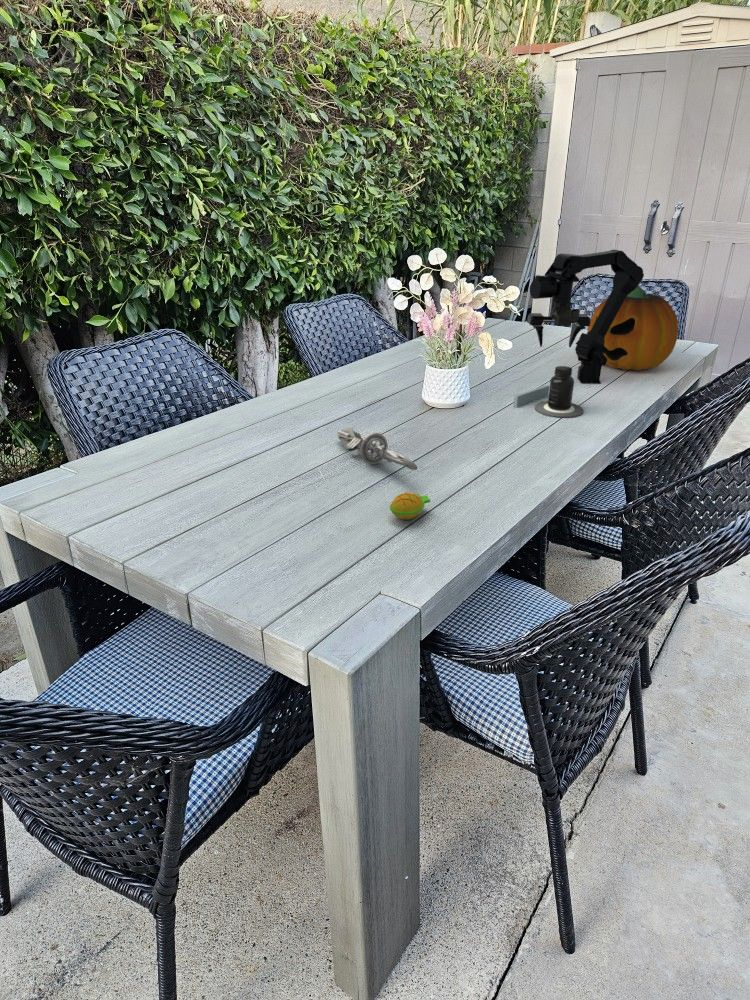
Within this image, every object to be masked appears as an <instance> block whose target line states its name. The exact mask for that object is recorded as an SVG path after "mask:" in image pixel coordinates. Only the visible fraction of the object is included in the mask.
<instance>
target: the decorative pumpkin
mask: <svg viewBox="0 0 750 1000" xmlns="http://www.w3.org/2000/svg"><path fill="white" fill-rule="evenodd" d="M607 299H608V297H607V298H605V300H603V301H602V302H601V303H600V304H599V305H598V306H596V308H595V310H593V311H594V312H593V314H592V316H591V317H590V319H591V322H590V326H587V332H586V334H587V333H588V332H589V331H590V330H591V329H592V327H593V325H594V323H595V322H596V320H597V318H598V316H599V314H600V312H601V310H602V308H603V307H604V305H605V303H606V301H607ZM676 314H677V313H676V311H674V309H673V307H672V305H671V304H670V302H668V301H667V300H665V298H663V297H662V296H661V295H657V294H653V293H646V291H645V289H643V288H642V287H641V286H639V285H638V286H637V288H636V289H635V290H633V291H632V292H631V293H629V294H628V295H627V296H626V298H625V300H624V302H623V304H622V306H621V307H620V309H619V311H618V313H617V315H616V317H615V319H614V320H613V322H612V324H611V326H610V328H609V330H608V331H607V333H606V335H605V344H604V349H603V351H602V353H603V354H604V355H605V357H606V358H607V362H606V365H607V366H608V367H609V368H617V369H621V370H636V371H641V370H649V369H653V368H656V367H659V366H660V365H661V364H663V363H664V362H665V361H666V360H667V359H668V358H669V357H670V355H671V354H672V353H673V352H674V351H673V350H674V349H675V346H676V344H677V339H678V336H679V321H678V317H677V315H676ZM606 365H605V366H606Z"/></svg>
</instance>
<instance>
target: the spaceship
mask: <svg viewBox="0 0 750 1000" xmlns="http://www.w3.org/2000/svg"><path fill="white" fill-rule="evenodd" d="M336 435H337V437H338V439H339V441H340V443H341V444H342V446H343V447H344V448H345V449H346V450H350V449H354V448H355V446H357V447H358V448H356V449H355V450H352V451H351V452H350V454H352V455H354V456H358V455H360V457H361V459H362V461H363V462H365V464H367V465H377V464H379V463H380V462H382V461H383V460H385V461H386V462H388V463H389V464H390V463H392V462H393V463H395V464H397V465H400V466H403V467H405V468H406V469H409V470H412V471H416V470H418V465H417V464H416V462H414V461H413V460H411V459H410V458H407V457H405V456H403V455H401V454H400V453H398V452H395V451H392V450H391V449H390V448H389V447H388V445H389V444H388V441H387V437H386V436H385V435H384V434H382V433H380V432H373V433H371V432H369V431H365V432H363V433H361V434H360V433H359V432H358V431H356V430H354V427H347V428H343V429H340V430H338V431H337V432H336ZM377 443H378V444H377ZM370 454H371V455H370Z"/></svg>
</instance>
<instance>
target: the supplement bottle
mask: <svg viewBox="0 0 750 1000" xmlns="http://www.w3.org/2000/svg"><path fill="white" fill-rule="evenodd" d="M549 381H550V382H549V394H548V397H547V398H548V399H547V401H548V407H549V408H550V409H553V410H558V411H564V410H568V409H570V408H571V403H573V402H572V401H573V394H574V386H575V379H574V377H573V368H572V367H571V366H566V365H565V366H564V365H560V366H559V365H558V366H556V367H555V368H554V375H553V376H552V377H551V378H550V380H549Z"/></svg>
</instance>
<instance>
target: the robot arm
mask: <svg viewBox="0 0 750 1000" xmlns="http://www.w3.org/2000/svg"><path fill="white" fill-rule="evenodd" d="M604 266H610V268H611V271H613V273H614V276H613V279H612V290H611V292H610V293H609V295H608V297H607V298H608V299H607V298H606V299H607V301H606V303H605V305H604V307H603V308H602V310H601V312H600V314H599V316H598V318H597V320H596V322H595V323H594V325H593V327H592V329H591V330H590V331H589V332H588V333H587V332H586V333H584V332H581V330H585V329H586V327H589V326H590V322H591V317H590V316H589V315H588V314H586V313H580V309H579V308H572V307H571V305H572V294H573V286H574V283H578V282H580V281H581V280H580V278H578V277H577V274H579V273H581V272H583V271H584V270H586V269H587V270H588V269H592V268H599V267H604ZM644 275H645V273H644V269H643V268H642V266H639V265H638V264H637V263H636V262H635V261H633V260H632V259H631V258H630V257H629V256H628V255H627V254H626V253H625V252H624V251H623V250H618V249H609V250H605V251H598V252H593V253H586V254H585V253H584V254H573V253H564V252H563V253H559V254H557V255H556V256H555V258H554V259H553V262H552V263H551V265H550V266H549V268H548V269H547V271H546V272H545V273H544V275H539V274H537V275H535V276H534V280H532V281H531V283H530V286H529V295H530V297H531V298H532V299H533V300H536V299H537V300H538V299H550V298H551V304H550V305H551V306H550V311H549V316H547V315H546V316H545V315H543V314H542V313H540V312H535V313H534V312H530V313H529V314H527V321H526V322H527V324H528V325H529V326H532V328H535V330H536V334H537V338H538V342H539V343H538V344H539V346H540V348H542V347H543V344H544V343H543V339H544V338H543V336H544V334H543V333H544V325H543V324H544V323H555V326H557V327H561V326H567V327H570V328H571V329H570V335H569V339H568V348H571V347H572V345H573V344H574V342H575V339H576V338H577V336H578V335H579V333H580V332H581V334H580V336H579V339H578V340H577V341H576V342H575V348H574V349H575V350H574V351H575V354H576V356H577V360H578V361H579V362H580V365H579V366H578V368H577V379H578V381H579V382H580V384H593V385H594V384H597V385H598V384H599V385H600V384H601V383H602V382H601V380H600V379H601V374H602V367H605V366H606V362H607V358H606V357H605V355H604V354H603V353H602V351H603V349H604V344H605V335H606V333H607V331H608V330H609V328H610V326H611V324H612V322H613V320H614V319H615V317H616V315H617V313H618V311H619V309H620V307H621V306H622V304H623V302H624V300H625V298H626V296H627V295H628V294H629V293H631V292H632V291H633V290H635V289H636V288H637V286H639V285H640V284H641V282H642V281H643V278H644Z"/></svg>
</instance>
